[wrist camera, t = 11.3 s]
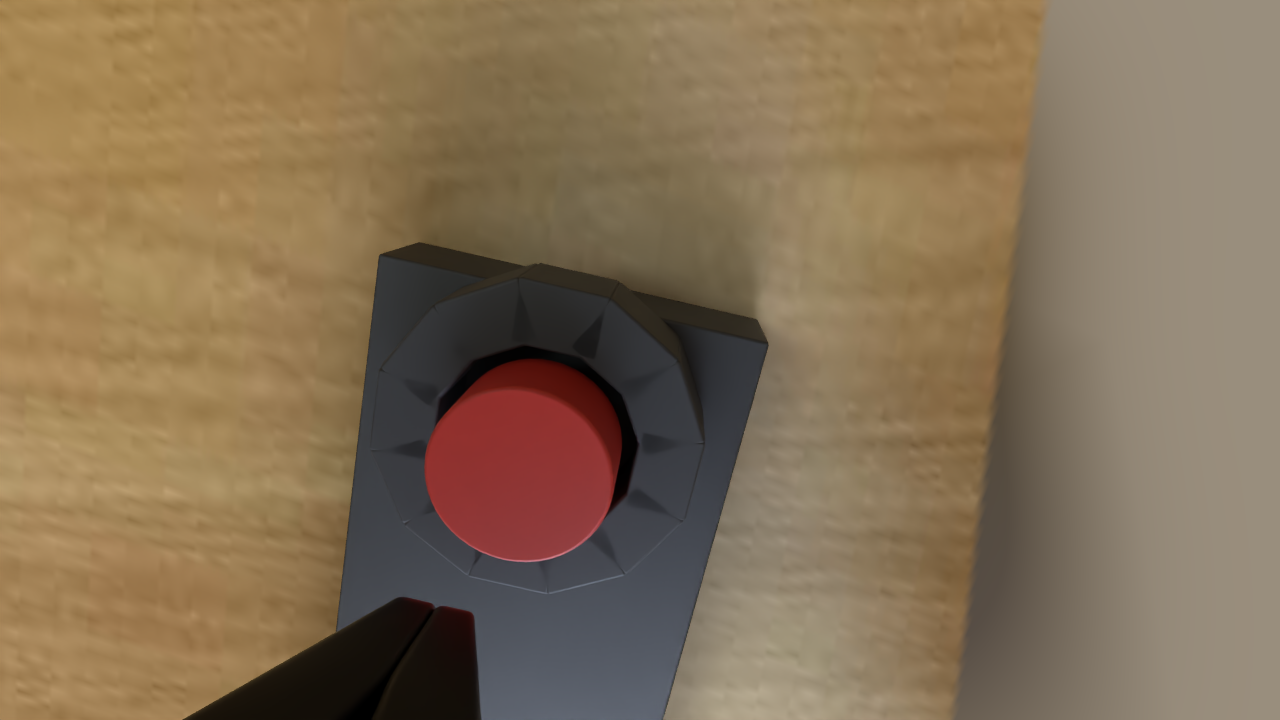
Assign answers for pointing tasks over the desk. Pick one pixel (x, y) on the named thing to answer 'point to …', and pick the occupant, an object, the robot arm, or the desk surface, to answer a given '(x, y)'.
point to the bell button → (525, 461)
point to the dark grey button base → (643, 494)
